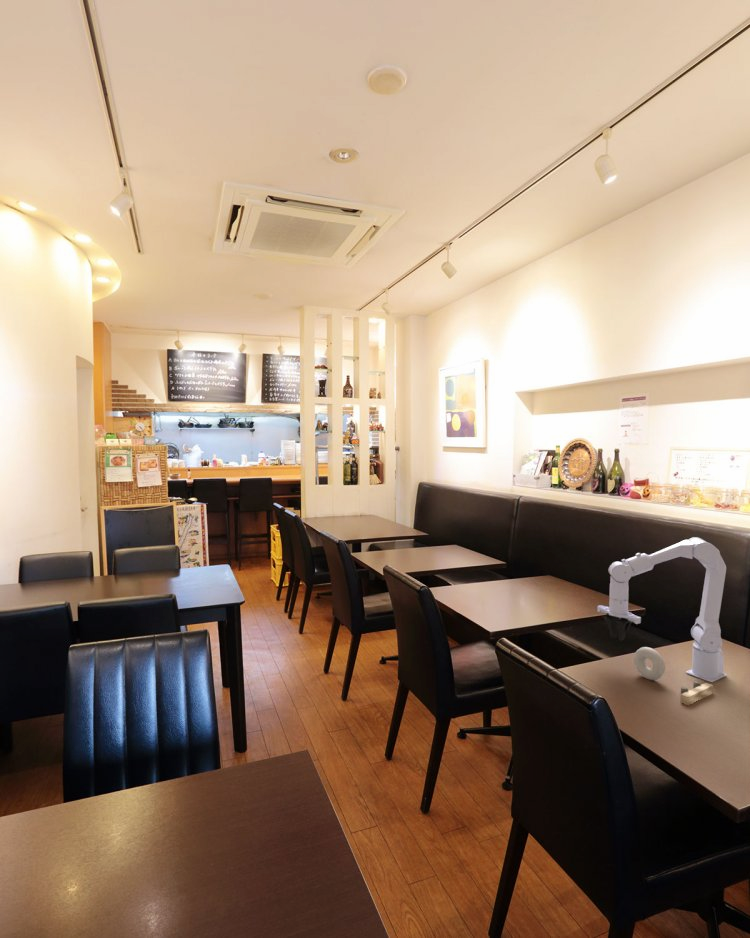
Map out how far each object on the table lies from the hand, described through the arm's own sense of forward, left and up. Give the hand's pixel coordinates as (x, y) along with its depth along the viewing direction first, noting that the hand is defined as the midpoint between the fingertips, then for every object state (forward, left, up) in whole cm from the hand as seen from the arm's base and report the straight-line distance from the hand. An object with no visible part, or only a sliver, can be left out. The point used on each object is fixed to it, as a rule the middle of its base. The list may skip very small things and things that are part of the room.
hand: (617, 638), depth 174 cm
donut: (0, +11, -10) cm, 15 cm away
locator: (0, +25, -9) cm, 26 cm away
